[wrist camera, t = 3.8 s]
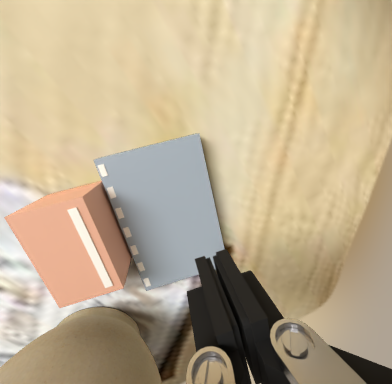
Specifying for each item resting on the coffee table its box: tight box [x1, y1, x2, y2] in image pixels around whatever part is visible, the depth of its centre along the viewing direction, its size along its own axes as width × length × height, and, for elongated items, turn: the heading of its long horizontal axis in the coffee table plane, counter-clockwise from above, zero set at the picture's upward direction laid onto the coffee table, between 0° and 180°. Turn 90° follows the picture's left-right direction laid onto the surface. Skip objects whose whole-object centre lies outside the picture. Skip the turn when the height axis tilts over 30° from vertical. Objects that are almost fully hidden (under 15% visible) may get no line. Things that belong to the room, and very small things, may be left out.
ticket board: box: [94, 134, 224, 291], centre depth 19 cm, size 9×14×2 cm, turn 14°
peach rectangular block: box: [4, 181, 132, 308], centre depth 16 cm, size 5×8×5 cm, turn 13°
